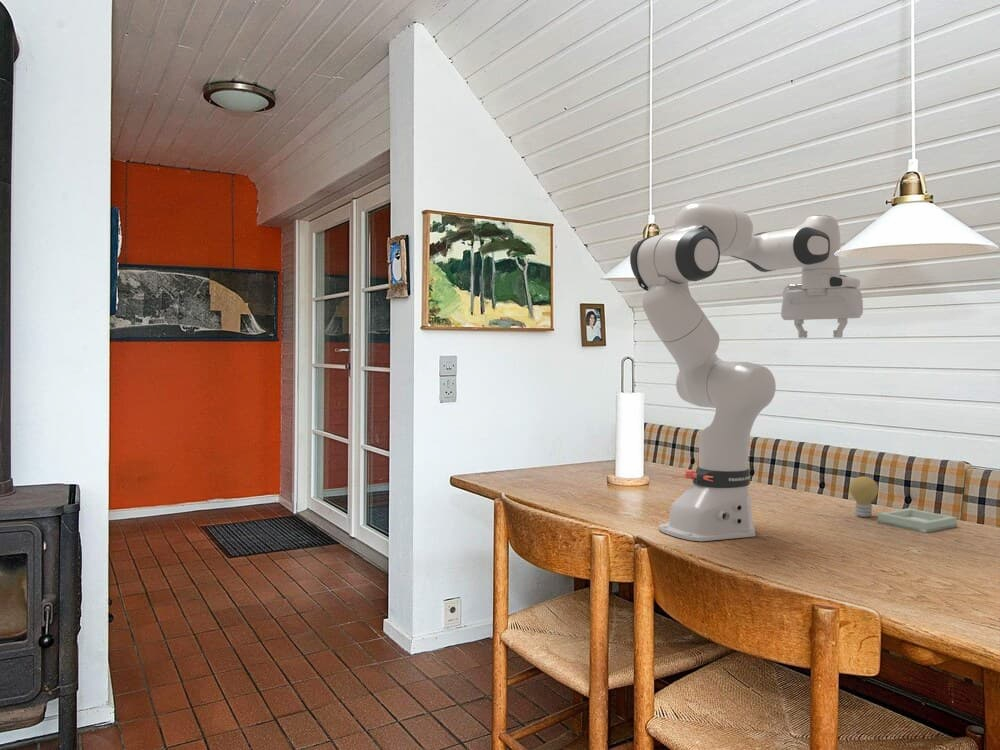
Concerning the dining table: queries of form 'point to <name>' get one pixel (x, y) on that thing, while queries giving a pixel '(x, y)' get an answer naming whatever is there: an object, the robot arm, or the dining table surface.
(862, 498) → the light bulb
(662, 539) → the dining table surface
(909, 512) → the tray
